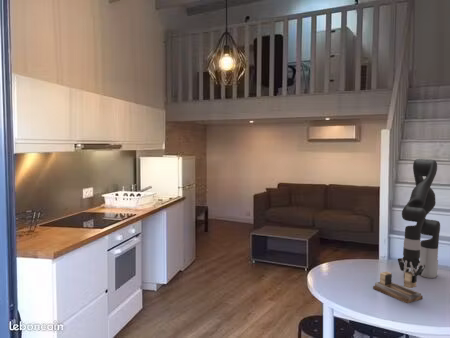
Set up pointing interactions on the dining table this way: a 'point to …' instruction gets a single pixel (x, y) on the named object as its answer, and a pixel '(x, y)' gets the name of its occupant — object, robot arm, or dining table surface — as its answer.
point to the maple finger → (408, 280)
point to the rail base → (396, 289)
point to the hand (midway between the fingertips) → (409, 281)
